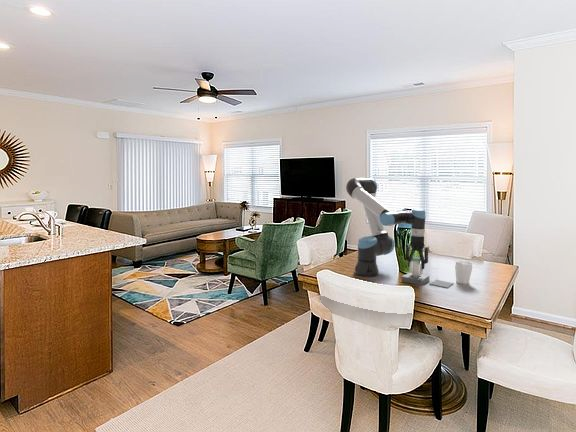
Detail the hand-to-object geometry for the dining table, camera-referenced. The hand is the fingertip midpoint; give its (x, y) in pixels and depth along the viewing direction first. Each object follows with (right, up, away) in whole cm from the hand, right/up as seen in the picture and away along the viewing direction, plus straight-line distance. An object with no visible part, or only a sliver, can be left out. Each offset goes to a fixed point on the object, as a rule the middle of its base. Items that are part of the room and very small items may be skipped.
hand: (415, 273), depth 218 cm
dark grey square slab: (0, -5, +1) cm, 5 cm away
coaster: (+13, -6, -6) cm, 15 cm away
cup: (+27, -5, -2) cm, 28 cm away
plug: (0, -5, +1) cm, 5 cm away
